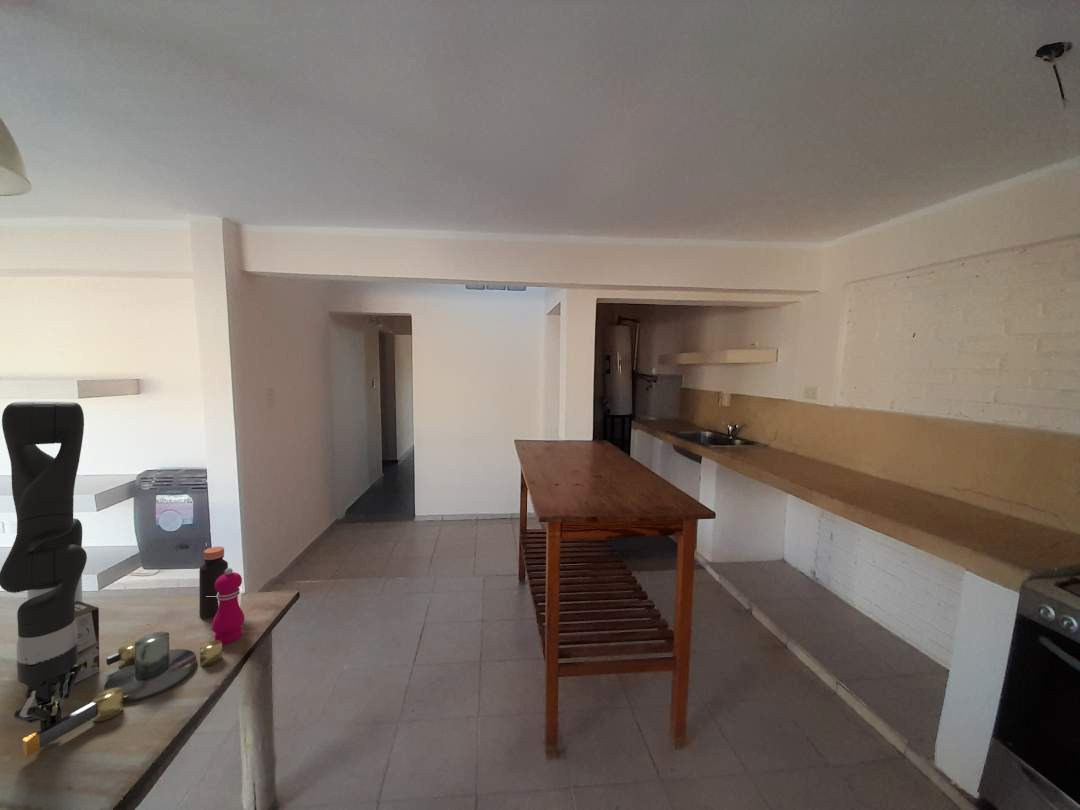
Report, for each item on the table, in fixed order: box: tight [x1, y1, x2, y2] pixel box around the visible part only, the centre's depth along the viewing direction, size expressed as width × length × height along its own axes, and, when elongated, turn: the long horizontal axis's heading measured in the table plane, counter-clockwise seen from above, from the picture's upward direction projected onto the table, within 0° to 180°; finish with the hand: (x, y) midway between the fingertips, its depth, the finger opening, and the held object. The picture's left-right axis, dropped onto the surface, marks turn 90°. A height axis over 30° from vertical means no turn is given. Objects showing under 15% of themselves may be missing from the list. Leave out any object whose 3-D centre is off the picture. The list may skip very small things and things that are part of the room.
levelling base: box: [103, 631, 223, 704], centre depth 99 cm, size 23×19×10 cm
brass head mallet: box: [21, 687, 124, 758], centre depth 82 cm, size 14×4×4 cm, turn 162°
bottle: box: [198, 546, 229, 619], centre depth 124 cm, size 7×7×20 cm
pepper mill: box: [211, 567, 245, 645], centre depth 112 cm, size 7×7×20 cm
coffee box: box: [74, 601, 100, 685], centre depth 97 cm, size 9×6×16 cm
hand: (51, 730), depth 80 cm, fingers closed
